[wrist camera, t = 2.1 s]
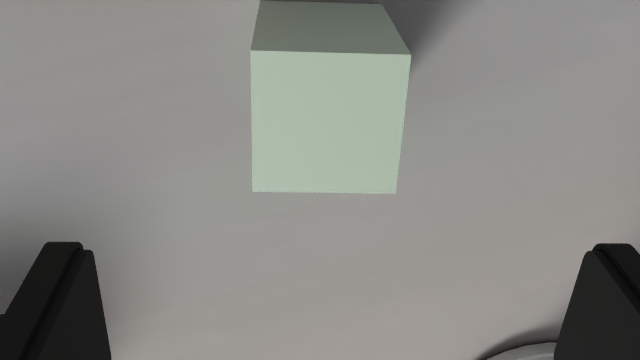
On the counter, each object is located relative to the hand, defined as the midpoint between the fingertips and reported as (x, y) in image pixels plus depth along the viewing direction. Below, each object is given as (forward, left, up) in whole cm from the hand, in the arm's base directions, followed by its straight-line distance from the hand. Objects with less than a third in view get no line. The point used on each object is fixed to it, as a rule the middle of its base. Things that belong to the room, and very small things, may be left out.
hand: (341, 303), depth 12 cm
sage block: (0, 0, -16) cm, 16 cm away
